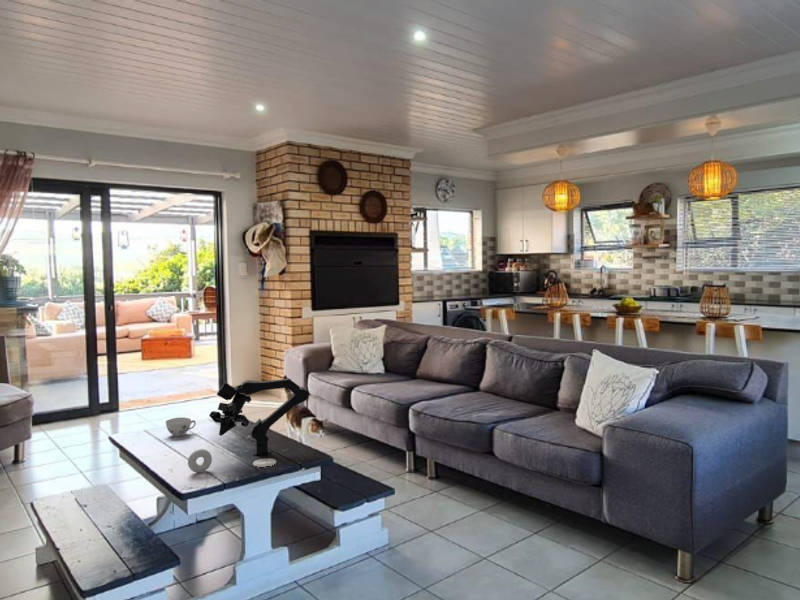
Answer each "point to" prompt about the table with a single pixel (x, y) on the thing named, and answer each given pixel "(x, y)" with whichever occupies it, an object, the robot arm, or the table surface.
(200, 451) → the donut
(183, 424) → the teacup
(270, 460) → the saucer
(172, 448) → the table surface
